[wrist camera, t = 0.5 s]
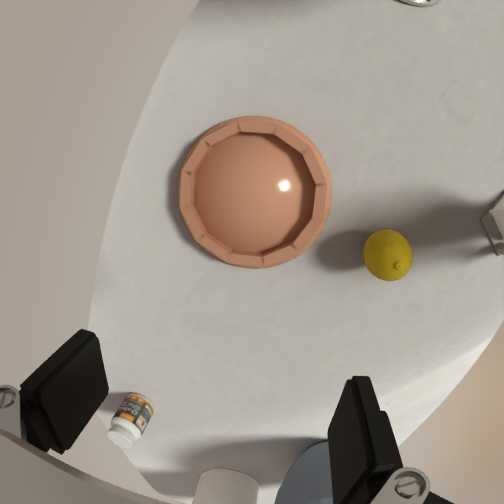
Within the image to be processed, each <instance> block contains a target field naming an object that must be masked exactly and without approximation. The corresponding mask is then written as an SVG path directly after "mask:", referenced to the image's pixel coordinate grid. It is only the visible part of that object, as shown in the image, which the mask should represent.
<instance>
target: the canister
mask: <svg viewBox="0 0 504 504" xmlns="http://www.w3.org/2000/svg"><path fill="white" fill-rule="evenodd" d="M258 489H259V484H258V482H257V481H256V480H255V479H254V478H252V477H251V476H249V475H247V474H244V473H241V472H238V471H233V470H226V469H212V470H208V471H205V472H203V473H202V474H201V475H200V479H199V482H198V486H197V489H196V492H195V496H194V499H193V503H192V504H257V497H258Z"/></svg>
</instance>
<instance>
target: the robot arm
mask: <svg viewBox="0 0 504 504" xmlns="http://www.w3.org/2000/svg"><path fill="white" fill-rule="evenodd" d="M400 1H403V2H405V3H408V4H411V5H416V6H425V7H427V6H433V5H435V4H437V3H438V2H440V1H441V0H400ZM20 387H21V390H20V391H19V392H18V390H17V389H16V388H15V387H13V386H10V385H2V386H0V504H170V503H166V502H163V501H159V500H156V499H153V498H149V497H146V496H143V495H140V494H137V493H134V492H131V491H129V490H126V489H123V488H120V487H118V486H115V485H113V484H110V483H108V482H105V481H103V480H100V479H98V478H95V477H93V476H91V475H89V474H87V473H84V472H82V471H80V470H78V469H76V468H74V467H72V466H70V465H68V464H66V463H64V462H62V461H60V460H58V459H56V458H54V457H52V456H51V455H49V454H48V450H49V449H50V448H51V449H52V450H54V451H56V452H57V453H60V454H61V455H62V454H63V453H64V451H65V450H68V449H70V448H71V446H72V445H73V443H74V442H75V440H76V439H77V438H78V436H79V435H80V433H81V432H82V430H83V429H84V427H85V426H86V424H87V423H88V422H89V420H90V419H91V417H92V416H93V414H94V413H95V412H96V410H97V409H98V408H99V406H100V405H101V403H102V402H103V401H104V399H105V398H106V396H107V395H108V391H109V387H108V382H107V378H106V374H105V369H104V364H103V359H102V354H101V349H100V343H99V339H98V338H97V337H96V335H95V333H93V332H90V331H87V330H84V329H80V330H79V331H78V332H77V333H76V334H74V335H73V336H72V337H71V338H70V339H69V340H68V341H67V342H65V343H64V344H63V345H62V346H61V347H60V348H59V349H58V350H57V351H56V352H55V353H53V354H52V356H50V357H49V358H48V359H47V360H46V361H45V362H44V363H43V364H42V365H41V366H40V367H39V368H37V369H36V370H35V371H34V372H33V373H32V374H31V375H30V376H29V377H28V378H27V379H26V380H25V381H24V382H23V383H22V384H21V385H20ZM328 446H329V457H330V468H331V481H332V494H333V504H454V503H451V502H449V501H448V500H445V499H444V498H441V497H440V496H438V495H436V494H434V493H432V492H430V491H429V490H430V481H429V479H428V477H427V476H426V475H425V474H424V472H422V471H420V470H419V469H416V468H410V467H405V468H403V464H402V461H401V457H400V454H399V450H398V447H397V443H396V440H395V437H394V434H393V430H392V427H391V424H390V421H389V418H388V415H387V413H386V412H385V411H380V408H379V404H378V401H377V398H376V395H375V392H374V389H373V386H372V383H371V380H370V377H369V376H353V377H352V379H351V380H350V379H348V380H347V381H346V384H345V387H344V389H343V392H342V395H341V397H340V400H339V403H338V405H337V408H336V410H335V413H334V415H333V418H332V420H331V423H330V425H329V428H328Z"/></svg>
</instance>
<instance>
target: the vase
mask: <svg viewBox="0 0 504 504" xmlns="http://www.w3.org/2000/svg"><path fill="white" fill-rule="evenodd" d="M274 504H333V494H332V481H331V468H330V457H329V446H328V441H327V442H321V443H318V444H315V445H313V446H311V447H310V448H308V449H307V450H306V451H305V452H303V453H302V454H301V455H300V456H299V458H298V459H297V460H296V461H295V462H294V464H293V465H292V466H291V468H290V469H289V471H288V473H287V475H286V477H285V479H284V481H283V483H282V485H281V487H280V488H279V490H278V493H277V496H276V500H275V503H274Z"/></svg>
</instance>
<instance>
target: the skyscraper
mask: <svg viewBox="0 0 504 504" xmlns="http://www.w3.org/2000/svg"><path fill="white" fill-rule="evenodd" d="M480 220H481V222H482V224H483V226H484V228H485V230H486V232H487V234H488V236H489V238H490V240H491V242H492V244H493V246H494V248H495V251H496V253H497V255H498V256H500V255H501V254H503V255H504V192H503V194H502V195H501V196H500V197H499V198H498V200H497V201H496V202H495V203H494V204H493V206H492V207H491V208H490V209H489V210H488V211H487V212H486V214H485V215H484V216H483V217H482V218H481V219H480Z"/></svg>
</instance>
